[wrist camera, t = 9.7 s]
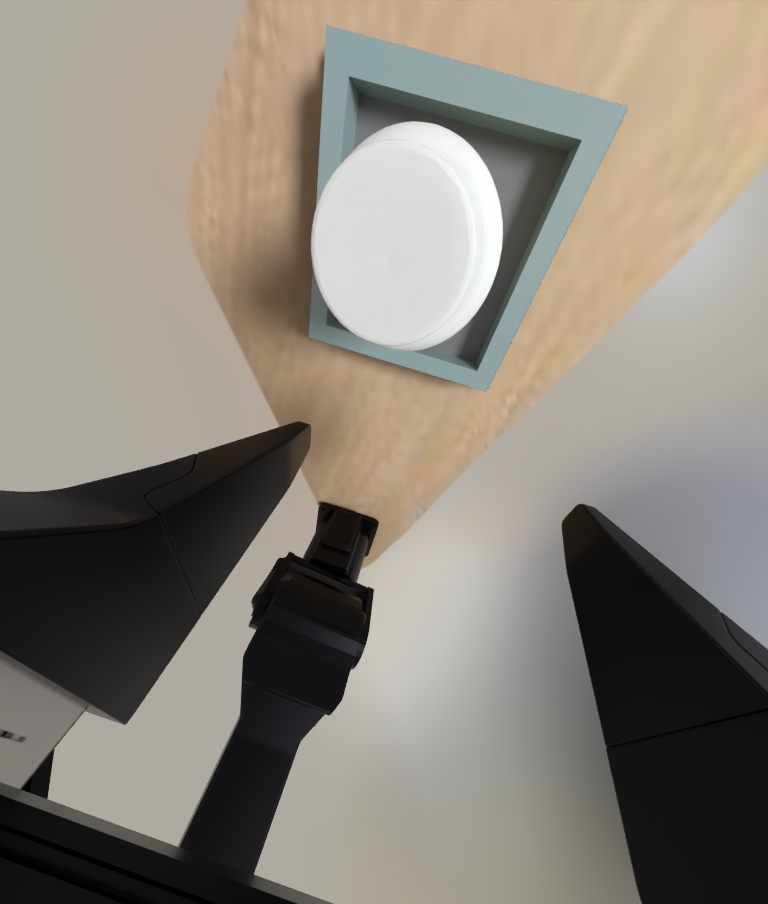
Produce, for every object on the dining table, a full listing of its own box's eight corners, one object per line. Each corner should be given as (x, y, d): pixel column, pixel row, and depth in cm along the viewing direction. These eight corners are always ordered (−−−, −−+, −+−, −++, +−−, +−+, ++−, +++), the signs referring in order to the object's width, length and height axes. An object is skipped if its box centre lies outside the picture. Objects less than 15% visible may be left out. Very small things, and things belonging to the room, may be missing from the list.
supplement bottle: (385, 170, 13) (268, 38, 5) (502, 195, 13) (582, 94, 5) (368, 301, 16) (282, 350, 8) (461, 324, 16) (464, 397, 8)
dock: (486, 383, 19) (489, 399, 17) (318, 332, 19) (302, 341, 17) (615, 119, 12) (648, 92, 10) (340, 44, 12) (317, 3, 10)
